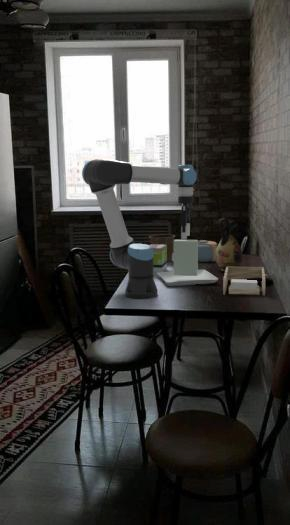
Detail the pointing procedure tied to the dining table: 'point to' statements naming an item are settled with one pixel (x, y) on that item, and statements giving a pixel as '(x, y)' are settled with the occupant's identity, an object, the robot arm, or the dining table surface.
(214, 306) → the dining table surface
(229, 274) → the frame
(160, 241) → the plant pot
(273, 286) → the dining table surface
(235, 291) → the lower offcut
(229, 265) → the ceramic jug
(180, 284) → the square plate
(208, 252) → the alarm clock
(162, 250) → the tea box
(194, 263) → the tall panel
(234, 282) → the upper offcut
